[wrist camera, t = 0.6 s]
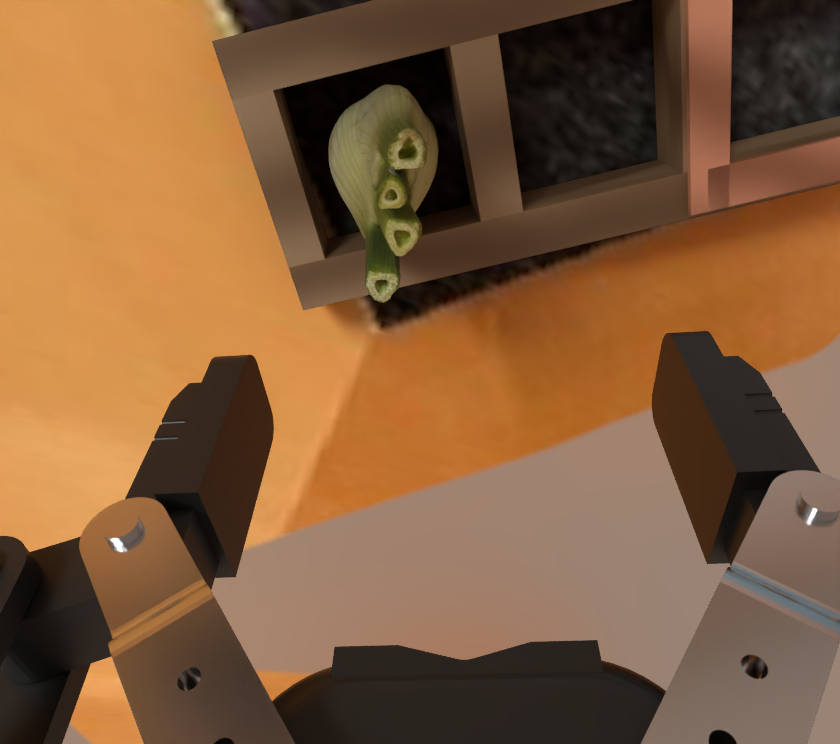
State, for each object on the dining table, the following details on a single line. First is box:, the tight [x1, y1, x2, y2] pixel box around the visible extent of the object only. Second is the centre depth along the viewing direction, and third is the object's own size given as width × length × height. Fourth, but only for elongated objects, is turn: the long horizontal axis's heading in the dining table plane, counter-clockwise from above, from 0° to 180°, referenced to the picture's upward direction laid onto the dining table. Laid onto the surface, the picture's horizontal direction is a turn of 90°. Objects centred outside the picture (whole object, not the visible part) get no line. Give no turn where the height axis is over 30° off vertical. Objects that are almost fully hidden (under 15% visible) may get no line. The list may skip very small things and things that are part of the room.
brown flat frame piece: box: [212, 0, 840, 310], centre depth 30 cm, size 12×30×3 cm, turn 103°
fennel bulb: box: [328, 84, 438, 303], centre depth 26 cm, size 6×5×12 cm
